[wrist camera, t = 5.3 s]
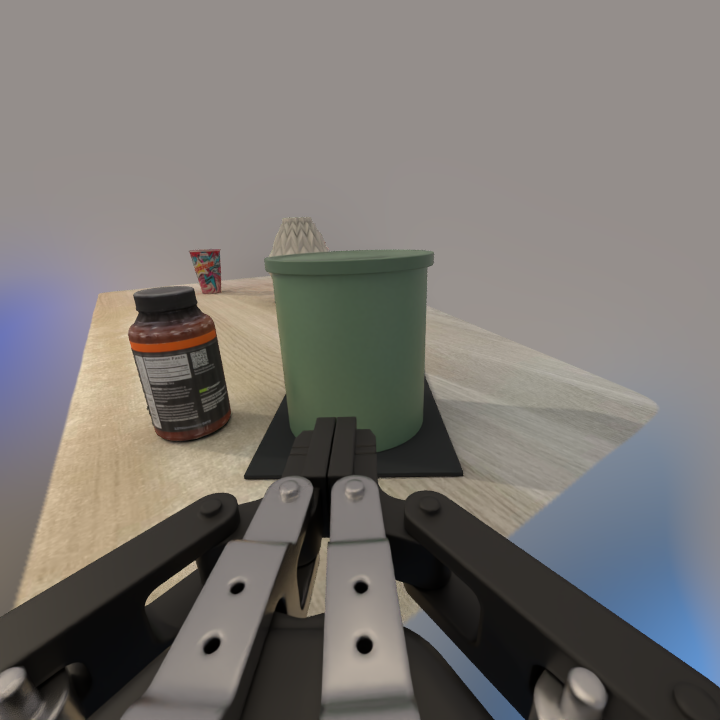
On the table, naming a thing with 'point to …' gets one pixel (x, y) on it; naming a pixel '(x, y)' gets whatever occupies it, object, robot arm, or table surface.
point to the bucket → (354, 338)
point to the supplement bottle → (179, 364)
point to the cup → (207, 269)
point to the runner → (409, 459)
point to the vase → (298, 238)
